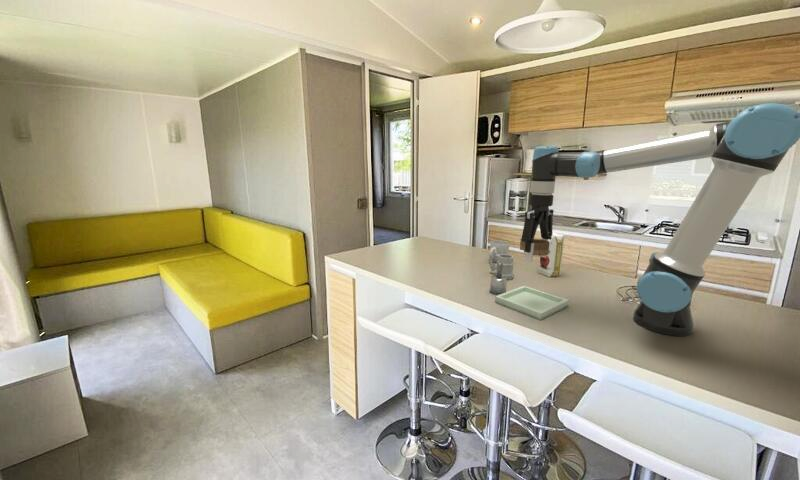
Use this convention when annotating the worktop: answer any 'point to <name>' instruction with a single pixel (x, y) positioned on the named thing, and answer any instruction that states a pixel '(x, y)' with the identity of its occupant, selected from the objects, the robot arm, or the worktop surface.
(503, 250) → the mug
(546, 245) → the ring
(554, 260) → the juice carton
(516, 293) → the tray
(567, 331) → the worktop surface
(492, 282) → the grey bottle
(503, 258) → the mug
